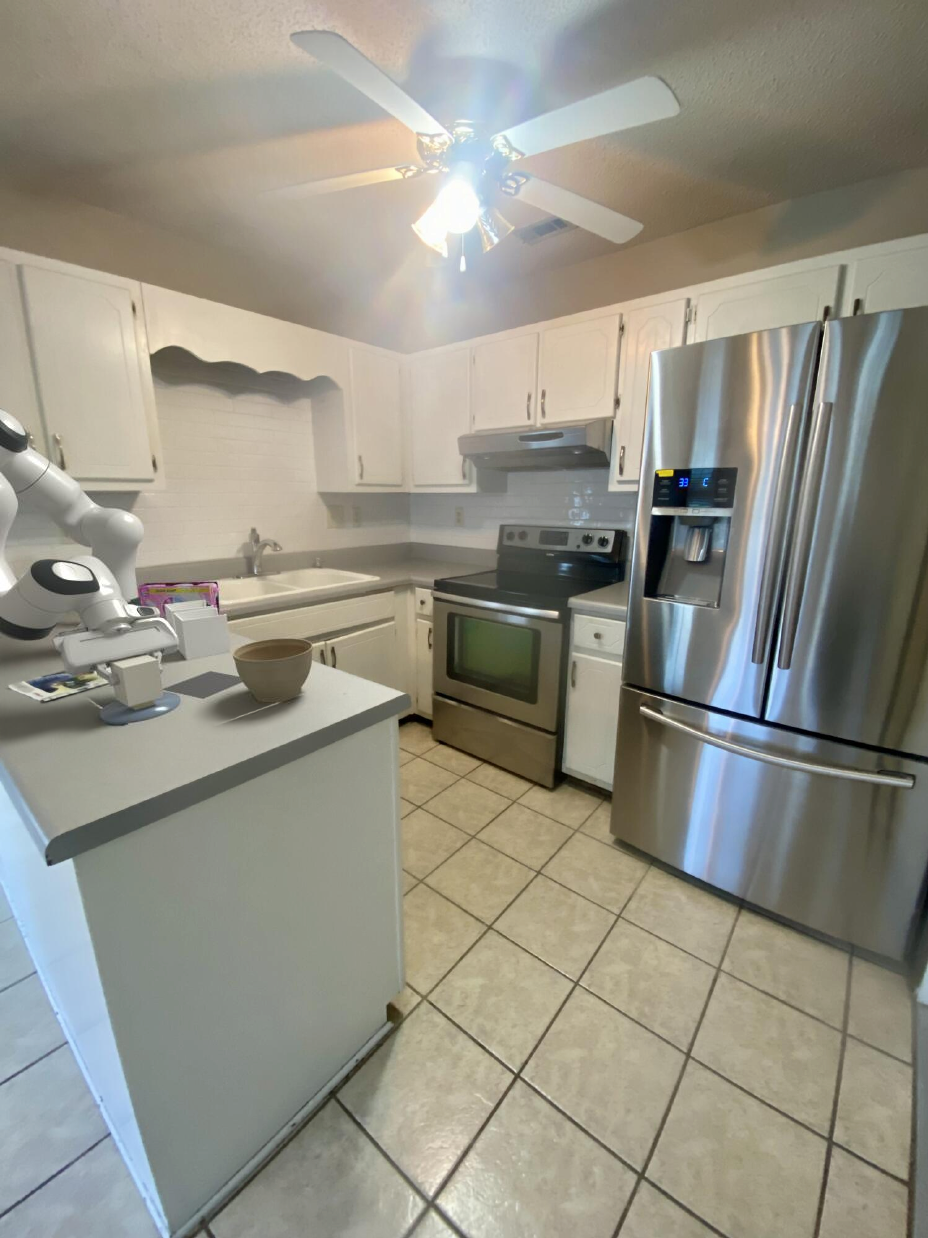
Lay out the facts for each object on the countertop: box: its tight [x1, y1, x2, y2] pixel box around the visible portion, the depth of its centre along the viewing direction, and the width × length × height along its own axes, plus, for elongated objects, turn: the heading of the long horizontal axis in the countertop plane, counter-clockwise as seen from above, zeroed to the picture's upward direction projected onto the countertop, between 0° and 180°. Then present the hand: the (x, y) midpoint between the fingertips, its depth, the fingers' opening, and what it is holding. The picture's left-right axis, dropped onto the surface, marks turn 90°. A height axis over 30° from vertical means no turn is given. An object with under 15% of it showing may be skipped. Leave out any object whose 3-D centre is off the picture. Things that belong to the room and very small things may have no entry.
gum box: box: [137, 580, 221, 621], centre depth 171 cm, size 24×8×14 cm, turn 98°
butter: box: [130, 700, 155, 710], centre depth 104 cm, size 4×4×2 cm
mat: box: [162, 670, 243, 700], centre depth 117 cm, size 13×13×1 cm
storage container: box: [165, 600, 232, 661], centre depth 146 cm, size 25×11×11 cm, turn 39°
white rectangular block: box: [109, 654, 164, 707], centre depth 102 cm, size 6×6×8 cm
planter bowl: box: [232, 637, 314, 703], centre depth 110 cm, size 16×16×11 cm
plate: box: [99, 691, 182, 726], centre depth 104 cm, size 14×14×1 cm
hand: (137, 678), depth 102 cm, fingers closed on white rectangular block, 6 cm apart
